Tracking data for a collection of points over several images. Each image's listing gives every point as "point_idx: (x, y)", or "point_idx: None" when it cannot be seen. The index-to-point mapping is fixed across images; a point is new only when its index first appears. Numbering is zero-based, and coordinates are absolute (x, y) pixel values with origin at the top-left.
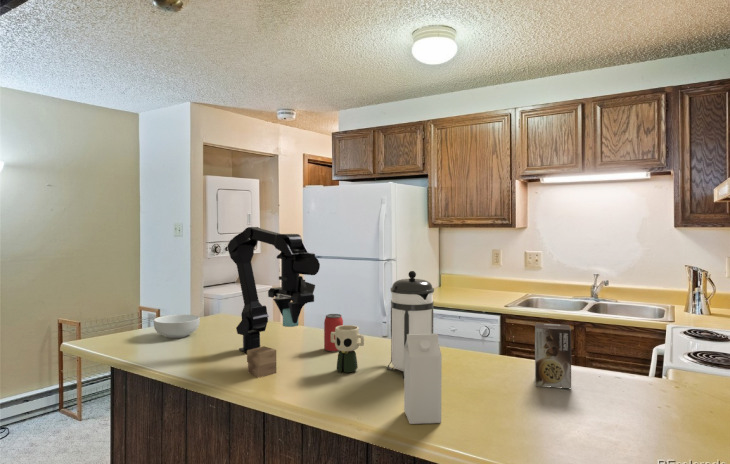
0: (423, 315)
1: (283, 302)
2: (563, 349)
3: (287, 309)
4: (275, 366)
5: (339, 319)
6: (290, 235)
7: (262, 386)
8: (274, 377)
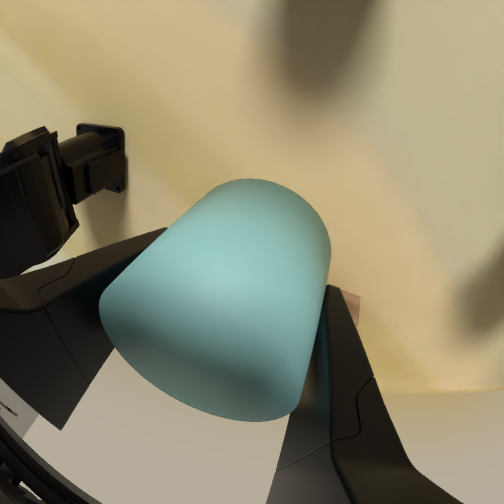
0: None
1: (52, 380)
2: None
3: (163, 369)
4: (357, 314)
5: None
6: None
7: (383, 367)
8: (377, 323)
